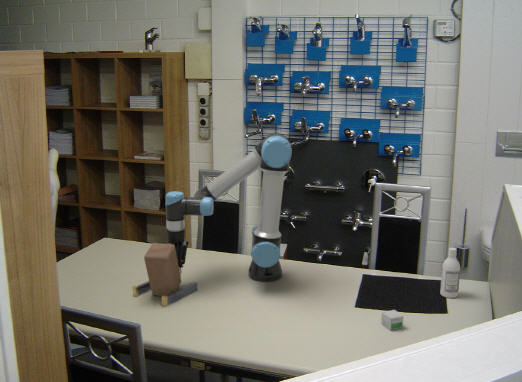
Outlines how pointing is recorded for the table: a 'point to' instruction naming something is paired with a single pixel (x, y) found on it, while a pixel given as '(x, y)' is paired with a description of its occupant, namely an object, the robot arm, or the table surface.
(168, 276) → the wooden block
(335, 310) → the table surface
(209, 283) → the table surface
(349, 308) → the table surface
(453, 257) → the bath foam
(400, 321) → the small box
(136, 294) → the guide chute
